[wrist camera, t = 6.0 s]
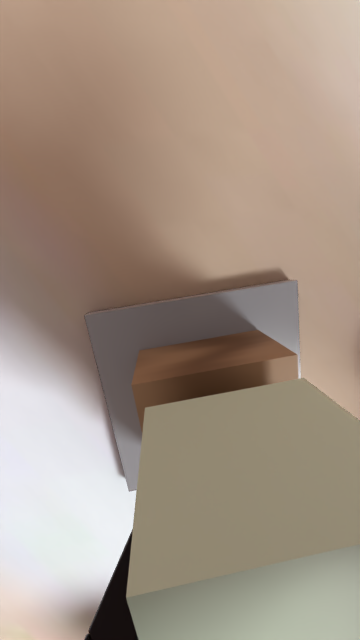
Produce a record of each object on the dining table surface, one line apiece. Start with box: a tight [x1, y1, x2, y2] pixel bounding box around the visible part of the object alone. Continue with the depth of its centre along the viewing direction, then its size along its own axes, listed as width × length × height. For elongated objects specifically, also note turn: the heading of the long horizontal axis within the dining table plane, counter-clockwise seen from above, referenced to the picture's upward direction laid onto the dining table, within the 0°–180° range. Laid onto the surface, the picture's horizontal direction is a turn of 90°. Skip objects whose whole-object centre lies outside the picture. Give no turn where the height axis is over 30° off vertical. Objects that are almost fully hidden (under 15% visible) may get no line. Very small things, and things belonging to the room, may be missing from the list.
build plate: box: [84, 280, 301, 491], centre depth 15 cm, size 12×12×1 cm
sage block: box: [126, 378, 360, 640], centre depth 7 cm, size 6×6×5 cm
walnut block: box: [131, 330, 298, 432], centre depth 12 cm, size 7×7×4 cm
